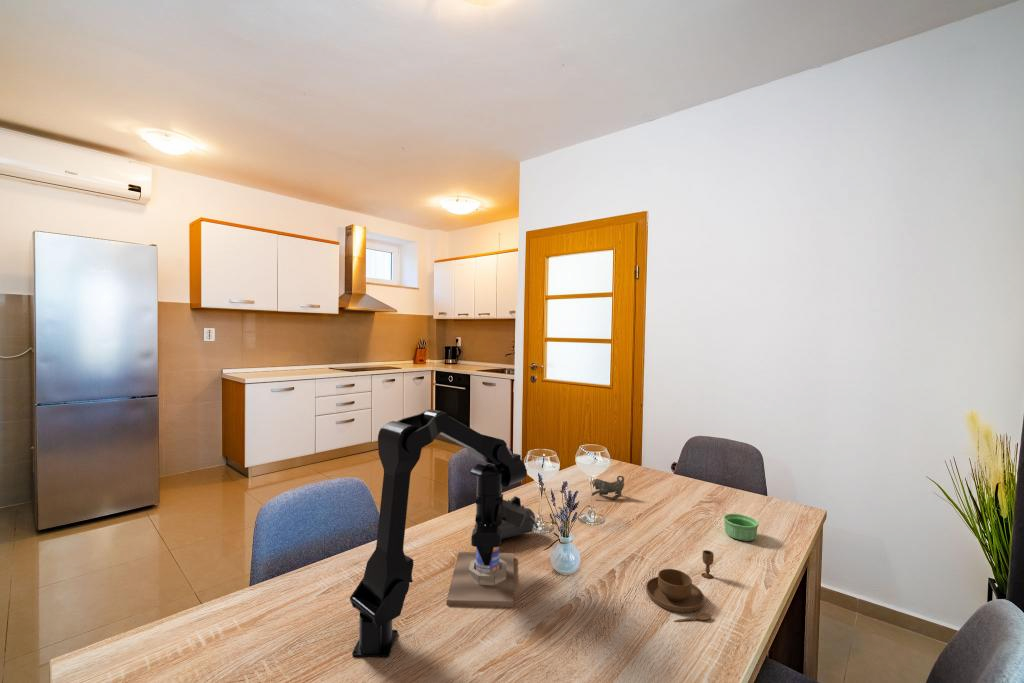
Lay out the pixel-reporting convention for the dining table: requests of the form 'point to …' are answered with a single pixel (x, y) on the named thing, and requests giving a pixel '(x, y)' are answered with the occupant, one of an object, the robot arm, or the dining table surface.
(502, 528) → the glasses case
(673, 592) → the place setting
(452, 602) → the socket board
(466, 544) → the dining table surface
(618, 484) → the dog figurine
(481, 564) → the pill bottle
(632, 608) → the dining table surface
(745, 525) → the ramekin
